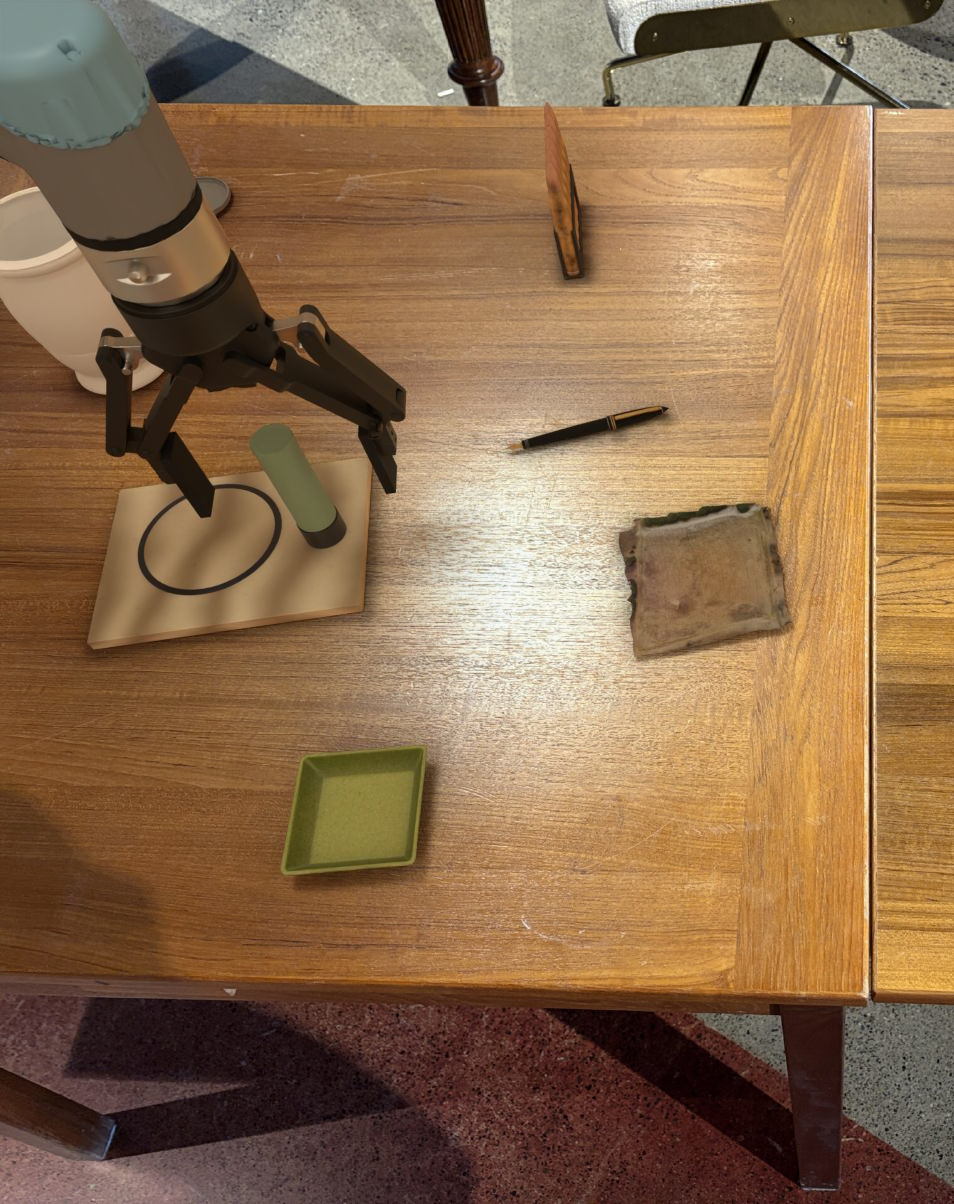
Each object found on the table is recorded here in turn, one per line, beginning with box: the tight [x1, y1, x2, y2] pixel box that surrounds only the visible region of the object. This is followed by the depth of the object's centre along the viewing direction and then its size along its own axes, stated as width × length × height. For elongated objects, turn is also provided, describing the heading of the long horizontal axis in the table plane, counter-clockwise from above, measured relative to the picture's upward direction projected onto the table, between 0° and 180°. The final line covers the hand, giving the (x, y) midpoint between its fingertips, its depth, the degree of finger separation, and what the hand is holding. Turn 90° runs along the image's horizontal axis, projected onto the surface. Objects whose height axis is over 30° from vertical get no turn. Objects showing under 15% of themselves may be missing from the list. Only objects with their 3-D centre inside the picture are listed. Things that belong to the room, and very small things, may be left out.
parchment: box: [618, 502, 793, 657], centre depth 89 cm, size 12×13×1 cm
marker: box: [249, 423, 346, 549], centre depth 87 cm, size 3×3×11 cm
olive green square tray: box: [279, 744, 428, 876], centre depth 78 cm, size 9×9×2 cm
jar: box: [0, 186, 165, 396], centre depth 98 cm, size 11×10×15 cm
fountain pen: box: [504, 405, 670, 451], centre depth 98 cm, size 14×1×2 cm, turn 108°
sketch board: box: [86, 456, 373, 650], centre depth 91 cm, size 20×15×1 cm
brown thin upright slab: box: [543, 101, 585, 280], centre depth 107 cm, size 11×2×12 cm, turn 8°
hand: (300, 492), depth 88 cm, fingers open, 13 cm apart
